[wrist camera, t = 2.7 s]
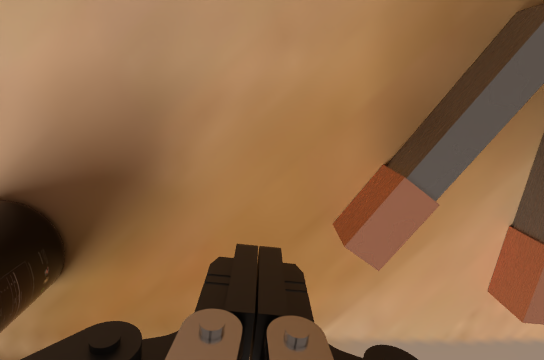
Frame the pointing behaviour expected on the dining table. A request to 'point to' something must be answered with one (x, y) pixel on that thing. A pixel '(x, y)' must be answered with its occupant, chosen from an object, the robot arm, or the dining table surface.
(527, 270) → the tongs fixed
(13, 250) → the supplement bottle
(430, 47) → the dining table surface
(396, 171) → the tong arm
